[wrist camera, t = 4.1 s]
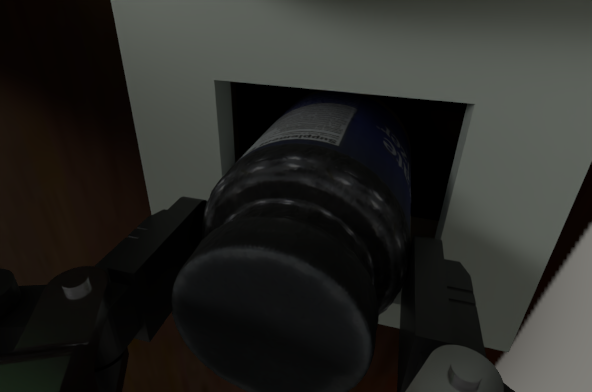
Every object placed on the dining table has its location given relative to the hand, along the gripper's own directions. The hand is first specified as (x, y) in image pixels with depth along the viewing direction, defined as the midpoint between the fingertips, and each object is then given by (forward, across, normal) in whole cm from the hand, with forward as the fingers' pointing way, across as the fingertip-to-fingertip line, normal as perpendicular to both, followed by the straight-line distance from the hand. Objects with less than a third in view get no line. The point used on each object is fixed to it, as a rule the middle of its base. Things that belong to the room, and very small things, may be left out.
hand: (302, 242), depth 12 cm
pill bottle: (+8, 0, 0) cm, 8 cm away
